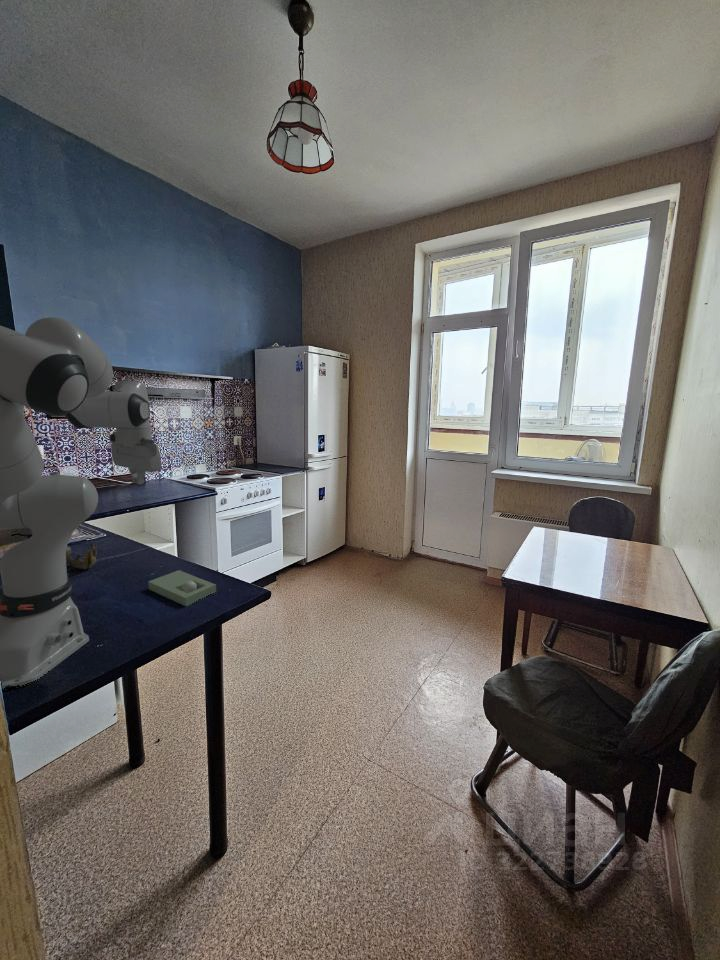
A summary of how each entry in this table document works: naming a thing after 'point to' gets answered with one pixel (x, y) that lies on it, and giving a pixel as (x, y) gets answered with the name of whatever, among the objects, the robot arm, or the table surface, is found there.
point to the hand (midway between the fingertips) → (138, 483)
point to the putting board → (173, 587)
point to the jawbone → (81, 564)
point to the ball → (189, 586)
